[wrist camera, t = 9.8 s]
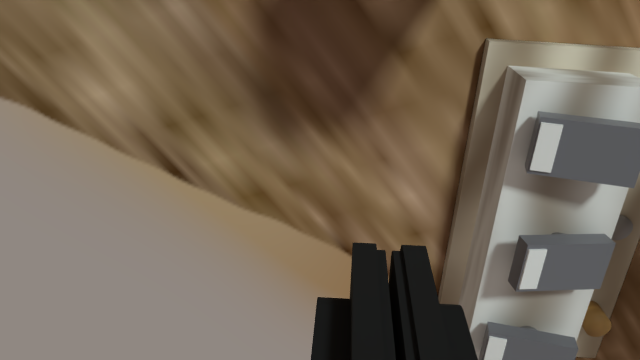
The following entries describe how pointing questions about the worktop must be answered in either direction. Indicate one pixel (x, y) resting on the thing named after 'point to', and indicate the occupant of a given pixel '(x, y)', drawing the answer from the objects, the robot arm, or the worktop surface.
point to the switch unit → (539, 188)
